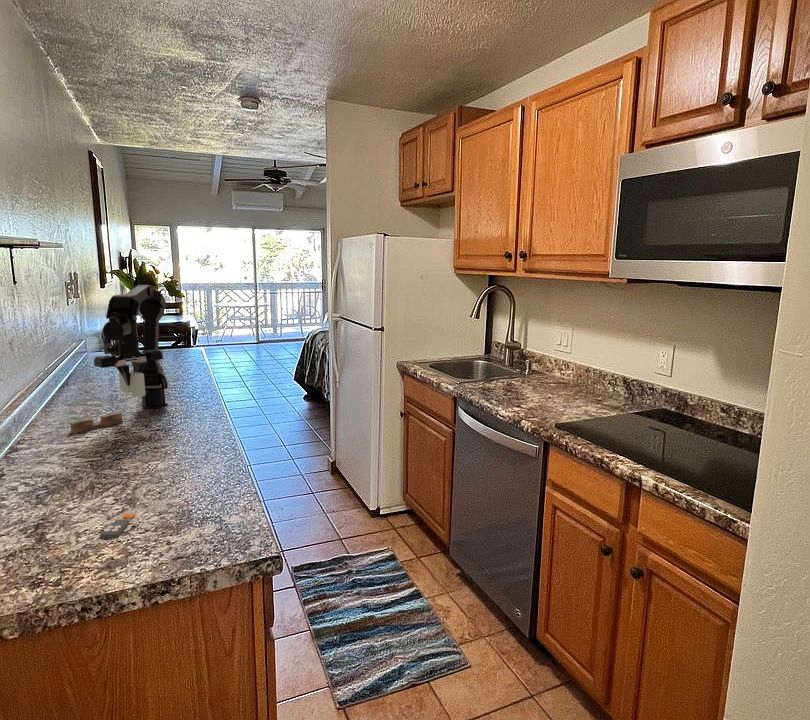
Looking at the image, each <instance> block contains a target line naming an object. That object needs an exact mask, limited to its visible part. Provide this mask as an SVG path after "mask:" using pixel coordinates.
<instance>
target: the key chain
mask: <svg viewBox="0 0 810 720" xmlns="http://www.w3.org/2000/svg"><path fill="white" fill-rule="evenodd" d="M137 513H139V511H135V512H132V513H126V514H124V515H123V516H122V518H123V519H117V520H115V521H114V522H112V523H110V524H109V525H108V526H107V527H106V528H105V529H104V530H102V532H101V533H100V534H99V538H101V539H115V538H118V537H119V536H121V535H122V534H123V532H124V531H125V529H126V528H127V527H128V526H129V524H130V521H129V520H131V519H134V518H135V517H136V514H137Z"/></svg>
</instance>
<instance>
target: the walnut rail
mask: <svg viewBox="0 0 810 720" xmlns="http://www.w3.org/2000/svg"><path fill="white" fill-rule="evenodd" d="M121 423H123V415H122V412H119V411H117V412H113V413H107V414H103V415H100V422H95V423H94V419H92V418H91V417H88V418H84V419H80V420H75V421H70V422H69V425H70V433H73V434H76V433H77V434H78V433H81V432H85V431H90V430H94V429H98V428H104V427H108V426H112V425H116V424H121Z"/></svg>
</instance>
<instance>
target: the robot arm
mask: <svg viewBox="0 0 810 720" xmlns="http://www.w3.org/2000/svg"><path fill="white" fill-rule="evenodd" d="M107 306H108V307H107V310H106V311H107V312H106V316H105V319H108V322H106V323H105V324H104V326H103V328H102V333H103V334H102V335H104V337H105V338H106V339H107V340H110V341H113V342H114V343H115V344H112V343H111V342H109V343H104V344H103V352H104V354H105V355H100V356H95V357H94V360H93V364H94V365H93V366H94V367H98V368H101V369H107V368H112V367H114V368H115V369H117V370H118V373H119V372H120V373H121V375H122V377H123V379H124V381H125V383H126V385H127V386H130V373H129V370H130V365H128V364H127V362H130V363H131V365H132V371H136V372H140V373H143V374H144V383H145V394H146V396H141V407H145V408H146V409H155V408H159V407H163V406H168V405H169V404H168V402H166V397H165V396H166V395H165V390H167V389H169V383H168V382H169V381H168V379H167V377H166V375H165V373H164V369H163V367H162V365H161V364H160V362H159V361H160V360H163V359H164V357H163V356H164V354H163V352H162V351H161V350H159V341H160V340H159V337H160V336H159V335H160V333H159V332H160V320H161V319H162V318H163V316H165V315H164V314H165V309H166V307H167V303H166V299H165V297H164V295H163V294H162V293H161V292H159V291H157V290H156V289H154V287H153V286H152V285H149V284H138V285H135V286H134V288H133V289H130V290H129V291H128V292H126V293H125V294H116V295H115V294H114V295H112V296H111V297H110V299H109V301H108V305H107ZM139 313H140V315H141V316H142V319H143V320H144V321H143V323H144V324H143V350H142V351H140V346H139V343H141V339H140V338H139V334H138V324H137V323H138V322H137V319H138V315H139Z"/></svg>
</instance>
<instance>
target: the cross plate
mask: <svg viewBox="0 0 810 720" xmlns="http://www.w3.org/2000/svg"><path fill="white" fill-rule="evenodd" d="M129 373H130V386H127V385H126V383H125V381H124V379H123V377H122V375H121V373H120V372H119V371H118V377H119V385H120V392H122V393H126V394H129V393H131V395H133V396H135V397H141V398H142V396H146V394H145V383H144V374H143V373H140V372H136V371H133V369H132V370H131V369H129Z"/></svg>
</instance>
